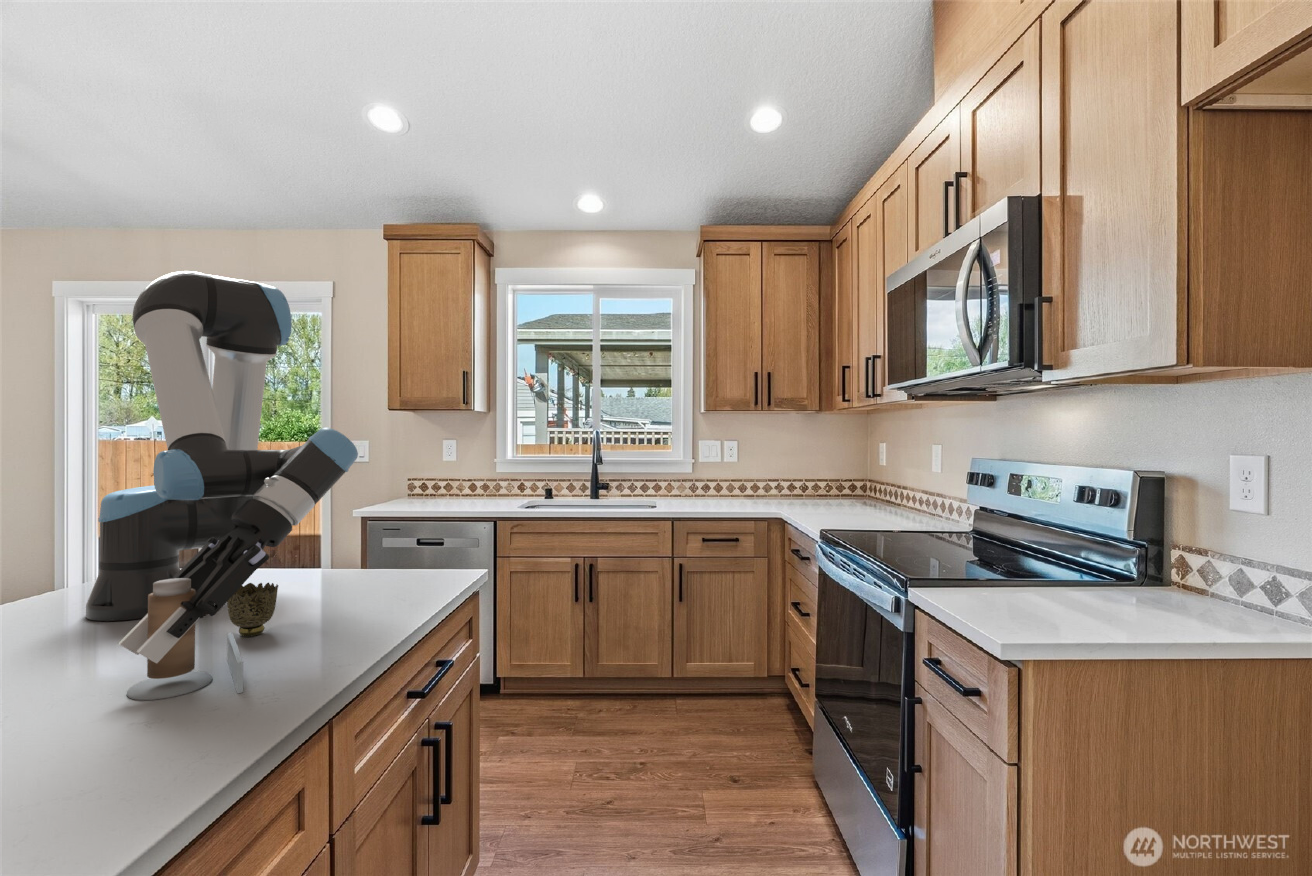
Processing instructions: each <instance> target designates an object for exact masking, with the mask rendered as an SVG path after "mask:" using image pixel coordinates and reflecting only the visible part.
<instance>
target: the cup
mask: <svg viewBox="0 0 1312 876" xmlns="http://www.w3.org/2000/svg"><path fill="white" fill-rule="evenodd" d="M278 589H279V585H278V584H276V585H275V584H274V582H272V583H271V584H270V582H266V583H265V584H264V586H263V583H262V582H259V583H258V584H257V585H255V583H253V582H248V583H247V584H245V585H244V586H243V585H242V586H241V587H240V588H239V589H238V590H237V591H236V592H235V593H234V595H233V596H232V597H231V598H230V599H229V600H228V601H227V602H226V605H227V606H226V607H227V612H228V617H229V620H230V621H231V623H232V624H233V625H234V626H236V627H239V629H238V634H239V636H241V637H245V638H249V637H256V636H259V635H261V634H263V632H264V631H265V629H266V628H265V624H267V623H268V622H269V621H270V620H271V619H272V617H273V615H274V613H275V609H276V603H277V598H278Z"/></svg>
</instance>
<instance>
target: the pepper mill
mask: <svg viewBox="0 0 1312 876" xmlns="http://www.w3.org/2000/svg"><path fill="white" fill-rule="evenodd" d="M195 593H196V590H195V589H191V579H189V578H175V579H166V580H161V581H157V582H154V583H153V593H151V594H149V595H148V639H149V638H150V637H151V636H152V635H153V634H154V633H155V632H156V631H157V630H158V629H159V628H160V627H161V626H162V624H163V623H164V622H165V621H166V620H167V619H168V618H169V617H170V616H171V615H172V614H173V613H174V612H175V611H176V610H177V609H178V608H179V607H182V608H184V607H183V606H182V605H181V602H182V601H190V600H191V598H192V597H193V596H194V595H195ZM184 609H185V610H187V609H186V608H184ZM146 663H147V664H146V666H147V667H146V669H147V671H146V672H147V673H146V676H147V678H148V679H150V678H153V679H162V678H170V677H175V676H179V675H183V674H186V673H188V672H191V671H195V668H196V667H195V666H196V664H195V663H196V622H195V623H194V624H193V626H192V627H191V628H190V629H189V630H188V631H187V632H186V633H185V634H184V635H183V636H182V637H181V638H180V639H179V641H178V642H177V643H176V644H175V645H174V646H173V647H172V648H171V649H170V650H169V651H168V652H167V653H166V655H165V656H164V657H163V658H162V659H161V660H160V661H159V662H158V663H155V662H153V661H151V660H149V659H148V658H146Z"/></svg>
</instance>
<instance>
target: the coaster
mask: <svg viewBox="0 0 1312 876" xmlns="http://www.w3.org/2000/svg"><path fill="white" fill-rule="evenodd" d="M212 681H213V675H212V674H211V673H210V672H207V671H199V670H198V671H197V670H192V671H191V672H188V673H186V674H183V675H179V676H175V677H170V678H162V679H153V678H147V679H145V680H141V681H139V682H137V683H135V684H133V685H132V686H130V687H129V688H128V689H127V690H126V696H127V698H129V699H131V700H134V701H155V700H163V699H164V700H165V699H168V698H175V697H179V696H183V695H186V694H190V693H193V692H195V691H198V690H201V689H202V688H205V687H207V686H208V685H210V684H211V683H212Z"/></svg>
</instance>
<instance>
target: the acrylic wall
mask: <svg viewBox="0 0 1312 876" xmlns="http://www.w3.org/2000/svg"><path fill="white" fill-rule="evenodd" d="M226 637H227V642H226V647H227V648H226V651H227V652H226V661H227V664H228V668H229V672H230V675H231V678H232V681H233V684H234V687H235V690H236V693H237V694H241V693H243V692H244V691H243V690H244V660H243V657H242V654H241V653H240V649H239V647H238V644H237V641H236V639H235V636H234V633H233V632H228V633H227V636H226Z"/></svg>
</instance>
